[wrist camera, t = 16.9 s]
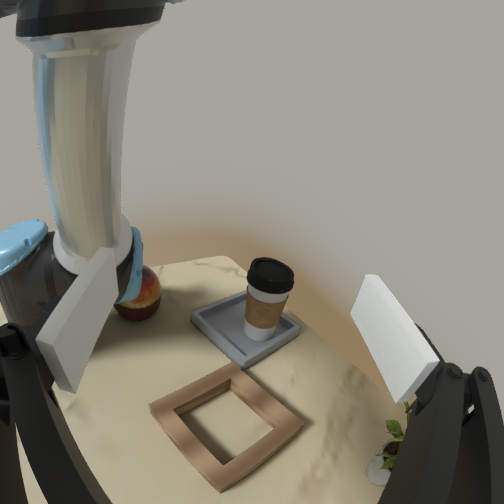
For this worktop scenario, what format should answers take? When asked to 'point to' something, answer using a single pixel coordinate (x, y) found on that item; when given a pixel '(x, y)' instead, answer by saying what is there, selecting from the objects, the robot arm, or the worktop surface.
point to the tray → (240, 331)
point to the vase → (142, 298)
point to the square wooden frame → (251, 395)
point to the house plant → (387, 454)
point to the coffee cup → (266, 296)
